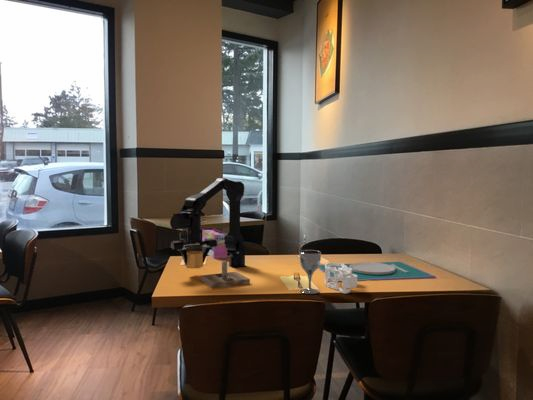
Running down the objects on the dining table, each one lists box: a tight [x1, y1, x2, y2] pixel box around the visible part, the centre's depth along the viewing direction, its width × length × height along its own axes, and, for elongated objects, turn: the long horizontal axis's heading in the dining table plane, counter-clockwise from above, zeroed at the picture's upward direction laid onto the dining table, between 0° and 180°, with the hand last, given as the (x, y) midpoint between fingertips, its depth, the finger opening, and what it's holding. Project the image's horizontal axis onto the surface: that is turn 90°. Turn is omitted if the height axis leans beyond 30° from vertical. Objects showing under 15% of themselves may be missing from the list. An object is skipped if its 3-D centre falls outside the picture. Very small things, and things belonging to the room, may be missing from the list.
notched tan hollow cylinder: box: [185, 250, 204, 269], centre depth 189 cm, size 7×7×6 cm
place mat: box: [317, 260, 436, 282], centre depth 204 cm, size 45×30×2 cm
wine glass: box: [299, 249, 322, 295], centre depth 168 cm, size 8×8×15 cm
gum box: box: [201, 228, 228, 260], centre depth 235 cm, size 22×7×13 cm, turn 25°
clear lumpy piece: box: [324, 261, 358, 294], centre depth 176 cm, size 20×11×7 cm, turn 179°
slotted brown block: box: [199, 260, 251, 290], centre depth 181 cm, size 16×14×8 cm
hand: (194, 264), depth 189 cm, fingers closed on notched tan hollow cylinder, 7 cm apart
